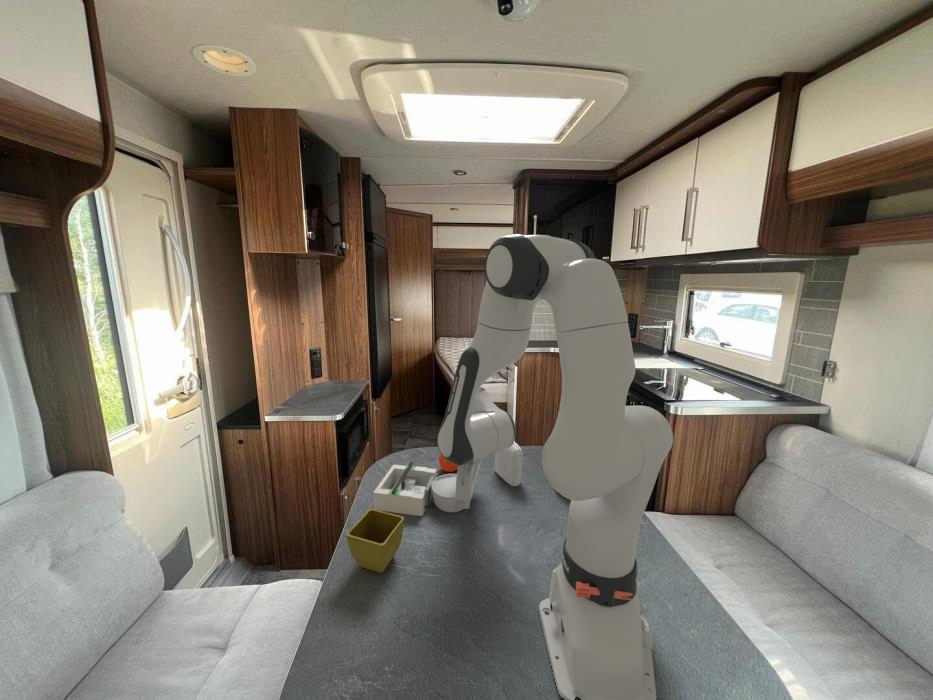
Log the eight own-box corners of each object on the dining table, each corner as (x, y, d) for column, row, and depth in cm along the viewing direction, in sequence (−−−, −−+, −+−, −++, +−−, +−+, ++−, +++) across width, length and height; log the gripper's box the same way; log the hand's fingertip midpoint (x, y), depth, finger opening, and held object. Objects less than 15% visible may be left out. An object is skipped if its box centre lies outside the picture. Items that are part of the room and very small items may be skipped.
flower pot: (384, 584, 72) (383, 545, 70) (347, 572, 75) (344, 534, 73) (405, 552, 80) (405, 516, 78) (371, 542, 83) (369, 507, 81)
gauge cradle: (422, 516, 92) (422, 497, 91) (374, 509, 94) (373, 491, 93) (436, 484, 105) (436, 468, 104) (393, 479, 107) (393, 463, 106)
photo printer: (523, 484, 106) (525, 445, 103) (511, 488, 104) (513, 448, 101) (504, 467, 115) (505, 431, 112) (492, 470, 113) (493, 434, 110)
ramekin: (457, 485, 105) (457, 468, 104) (481, 505, 96) (481, 487, 95) (423, 498, 99) (423, 481, 98) (445, 521, 90) (445, 502, 89)
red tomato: (455, 480, 108) (455, 458, 106) (434, 475, 110) (433, 454, 108) (464, 466, 115) (464, 446, 114) (443, 462, 117) (443, 442, 116)
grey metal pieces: (423, 516, 91) (423, 495, 90) (384, 511, 93) (383, 490, 92) (438, 483, 106) (438, 464, 104) (404, 479, 107) (403, 460, 106)
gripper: (476, 470, 83) (475, 523, 86) (487, 432, 102) (486, 476, 105) (449, 467, 84) (449, 520, 87) (465, 430, 103) (464, 474, 106)
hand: (469, 495), depth 96 cm, fingers open, 8 cm apart
